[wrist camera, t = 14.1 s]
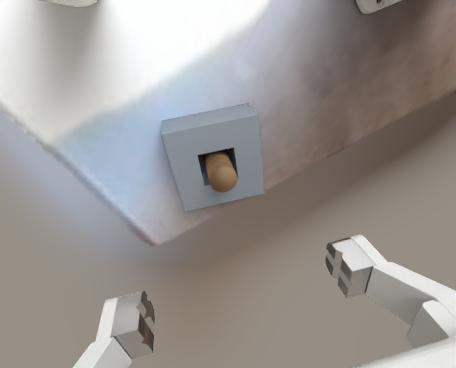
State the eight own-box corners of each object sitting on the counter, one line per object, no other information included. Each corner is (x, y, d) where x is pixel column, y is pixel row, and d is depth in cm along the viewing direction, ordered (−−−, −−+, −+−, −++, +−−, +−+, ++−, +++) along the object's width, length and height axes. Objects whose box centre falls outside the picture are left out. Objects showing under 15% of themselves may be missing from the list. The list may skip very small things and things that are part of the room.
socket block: (248, 103, 41) (258, 114, 36) (254, 175, 49) (264, 193, 44) (162, 120, 40) (161, 134, 35) (183, 192, 47) (184, 212, 42)
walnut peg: (222, 138, 43) (235, 165, 35) (226, 158, 45) (239, 188, 37) (199, 143, 43) (207, 171, 35) (204, 163, 45) (212, 194, 37)
